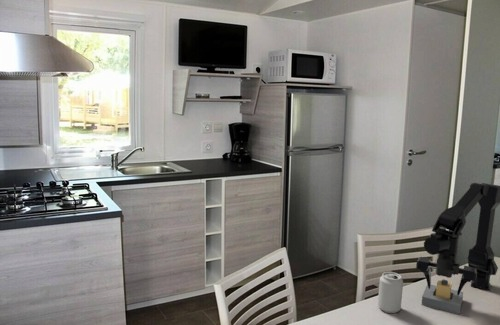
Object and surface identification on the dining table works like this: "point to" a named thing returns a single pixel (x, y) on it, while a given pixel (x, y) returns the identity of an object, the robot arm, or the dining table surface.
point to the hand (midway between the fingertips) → (443, 291)
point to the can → (390, 292)
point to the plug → (443, 289)
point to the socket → (442, 300)
